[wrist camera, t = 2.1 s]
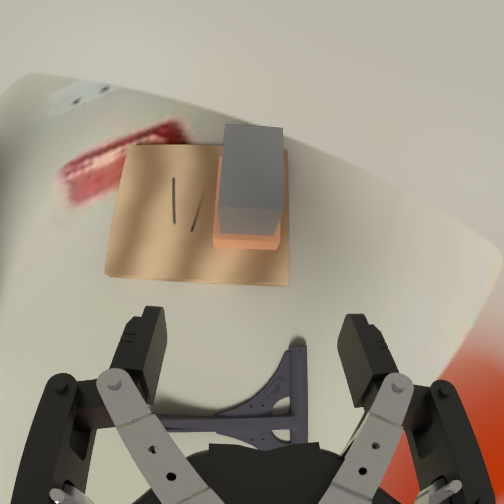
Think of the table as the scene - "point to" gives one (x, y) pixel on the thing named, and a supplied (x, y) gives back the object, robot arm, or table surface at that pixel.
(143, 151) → the oak board
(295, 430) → the bracket
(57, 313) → the table surface
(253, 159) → the block
